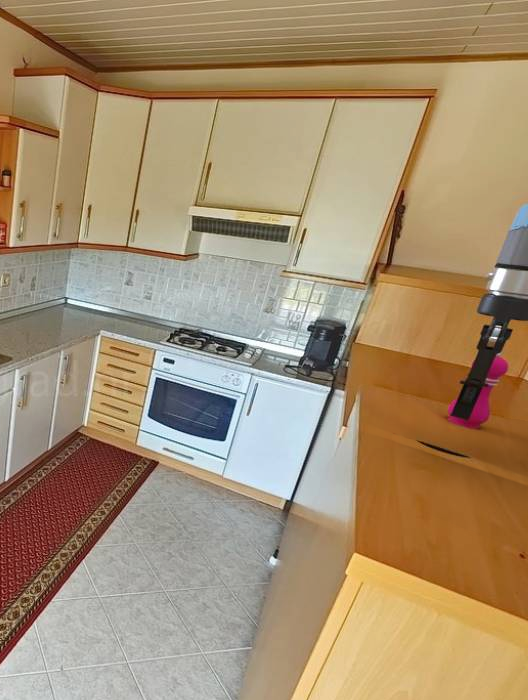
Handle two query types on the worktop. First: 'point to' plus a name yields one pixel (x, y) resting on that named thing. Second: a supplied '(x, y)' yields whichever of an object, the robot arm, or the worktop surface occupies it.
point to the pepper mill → (482, 396)
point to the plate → (443, 450)
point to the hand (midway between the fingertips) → (459, 417)
